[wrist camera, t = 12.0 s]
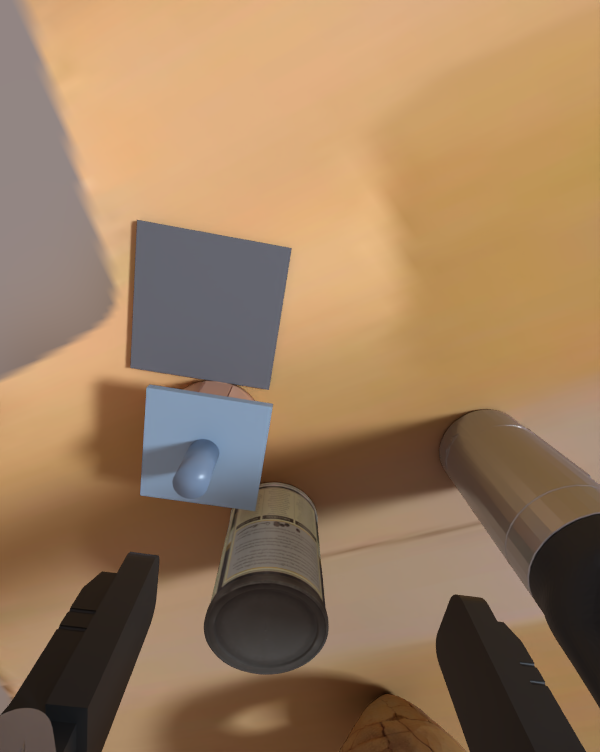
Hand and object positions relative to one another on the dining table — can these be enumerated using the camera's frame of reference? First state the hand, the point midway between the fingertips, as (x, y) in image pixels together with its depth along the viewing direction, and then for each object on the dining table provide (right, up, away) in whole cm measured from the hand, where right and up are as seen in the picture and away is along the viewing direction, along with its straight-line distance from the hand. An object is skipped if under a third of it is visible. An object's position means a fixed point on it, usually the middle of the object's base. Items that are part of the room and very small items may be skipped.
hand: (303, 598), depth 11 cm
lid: (-9, -1, +26) cm, 27 cm away
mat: (-9, +13, +27) cm, 31 cm away
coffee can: (-3, -11, +35) cm, 37 cm away
